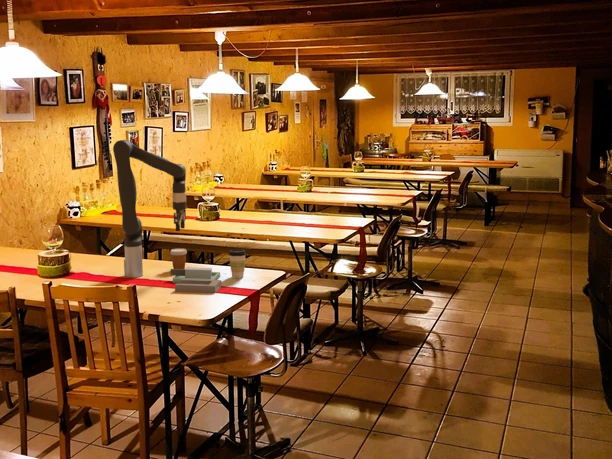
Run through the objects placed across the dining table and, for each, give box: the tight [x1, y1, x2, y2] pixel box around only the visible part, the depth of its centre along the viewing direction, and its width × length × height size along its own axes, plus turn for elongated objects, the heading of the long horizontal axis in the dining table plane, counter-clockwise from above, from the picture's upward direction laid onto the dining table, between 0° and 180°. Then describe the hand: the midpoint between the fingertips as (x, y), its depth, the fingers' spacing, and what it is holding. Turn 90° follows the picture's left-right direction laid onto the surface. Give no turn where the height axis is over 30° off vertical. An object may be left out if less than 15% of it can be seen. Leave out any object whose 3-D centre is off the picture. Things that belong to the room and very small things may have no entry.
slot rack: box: [174, 279, 222, 294], centre depth 323 cm, size 21×12×4 cm, turn 84°
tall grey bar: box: [170, 266, 213, 279], centre depth 341 cm, size 22×5×5 cm, turn 95°
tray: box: [172, 271, 221, 284], centre depth 342 cm, size 22×16×2 cm
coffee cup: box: [228, 248, 247, 280], centre depth 346 cm, size 10×10×15 cm
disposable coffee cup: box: [169, 248, 188, 269], centre depth 361 cm, size 10×10×12 cm
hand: (180, 229), depth 346 cm, fingers open, 8 cm apart
